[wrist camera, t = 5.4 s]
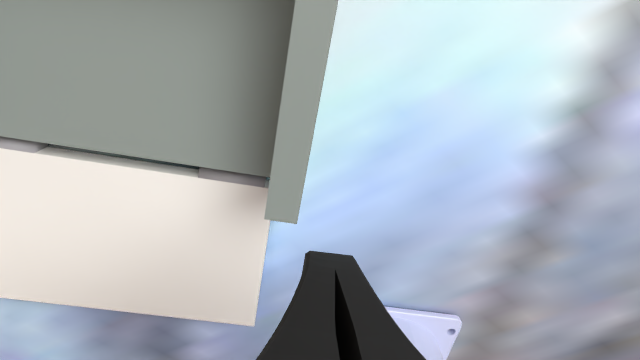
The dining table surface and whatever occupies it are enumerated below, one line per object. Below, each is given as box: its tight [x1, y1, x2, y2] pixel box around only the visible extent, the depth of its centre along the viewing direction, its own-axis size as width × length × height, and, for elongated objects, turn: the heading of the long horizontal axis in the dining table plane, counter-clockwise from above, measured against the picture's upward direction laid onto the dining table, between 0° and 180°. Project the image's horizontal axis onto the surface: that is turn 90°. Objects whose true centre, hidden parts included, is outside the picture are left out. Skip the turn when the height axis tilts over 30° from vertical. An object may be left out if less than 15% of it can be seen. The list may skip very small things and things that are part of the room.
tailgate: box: [0, 136, 270, 326], centre depth 19 cm, size 8×14×1 cm, turn 80°
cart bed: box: [0, 0, 338, 224], centre depth 14 cm, size 11×16×5 cm
